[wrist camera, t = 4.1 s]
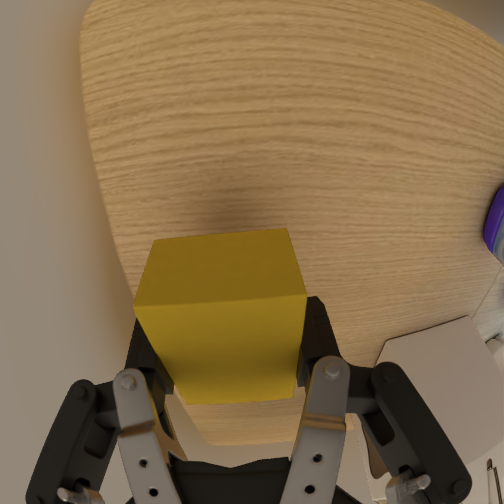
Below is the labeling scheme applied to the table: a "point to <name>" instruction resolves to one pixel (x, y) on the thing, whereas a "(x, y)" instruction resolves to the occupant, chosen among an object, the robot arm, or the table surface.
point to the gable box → (451, 404)
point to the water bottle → (497, 351)
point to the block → (225, 314)
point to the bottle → (496, 227)
